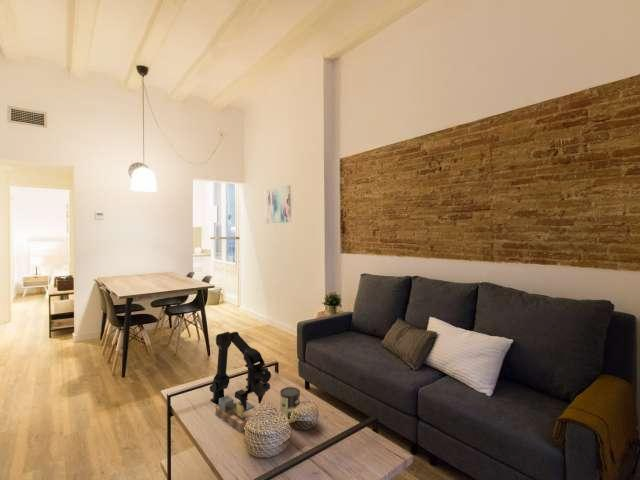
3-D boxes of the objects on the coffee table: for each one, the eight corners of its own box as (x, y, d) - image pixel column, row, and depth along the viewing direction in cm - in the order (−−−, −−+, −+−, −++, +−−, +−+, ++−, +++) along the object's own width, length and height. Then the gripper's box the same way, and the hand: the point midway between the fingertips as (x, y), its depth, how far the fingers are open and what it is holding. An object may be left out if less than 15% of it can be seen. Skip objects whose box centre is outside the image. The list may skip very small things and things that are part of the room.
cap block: (218, 408, 179) (218, 398, 179) (227, 404, 183) (227, 395, 183) (225, 412, 175) (225, 402, 175) (233, 408, 179) (233, 399, 179)
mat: (228, 406, 188) (228, 406, 188) (243, 400, 196) (243, 399, 196) (239, 413, 182) (239, 413, 182) (254, 406, 189) (254, 406, 189)
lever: (235, 414, 172) (235, 402, 172) (237, 413, 173) (237, 401, 173) (241, 418, 169) (241, 406, 169) (243, 417, 170) (244, 405, 170)
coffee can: (301, 414, 183) (302, 388, 182) (296, 424, 173) (297, 397, 172) (283, 411, 185) (283, 385, 184) (277, 422, 175) (277, 394, 174)
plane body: (215, 414, 180) (215, 404, 180) (225, 409, 185) (225, 400, 185) (240, 432, 165) (240, 421, 165) (251, 426, 170) (251, 416, 170)
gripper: (247, 387, 164) (247, 419, 165) (277, 375, 178) (276, 405, 179) (234, 380, 172) (233, 411, 172) (263, 369, 185) (263, 398, 186)
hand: (252, 406), depth 177 cm, fingers open, 9 cm apart
